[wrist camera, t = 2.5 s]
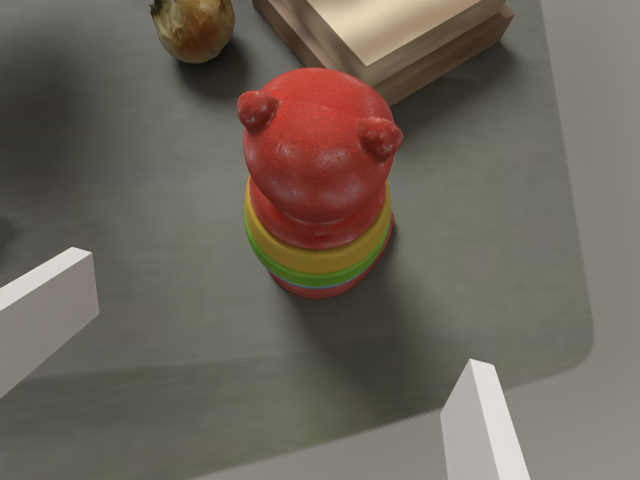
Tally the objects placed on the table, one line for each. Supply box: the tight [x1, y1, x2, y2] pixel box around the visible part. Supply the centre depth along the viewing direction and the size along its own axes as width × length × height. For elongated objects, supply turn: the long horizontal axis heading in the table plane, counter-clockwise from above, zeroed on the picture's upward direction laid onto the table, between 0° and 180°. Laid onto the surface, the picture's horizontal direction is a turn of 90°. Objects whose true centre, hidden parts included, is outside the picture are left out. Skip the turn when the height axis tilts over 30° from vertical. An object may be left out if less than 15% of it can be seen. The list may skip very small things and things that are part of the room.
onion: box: [149, 0, 235, 63], centre depth 33 cm, size 8×8×8 cm
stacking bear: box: [237, 68, 403, 299], centre depth 22 cm, size 11×10×18 cm
